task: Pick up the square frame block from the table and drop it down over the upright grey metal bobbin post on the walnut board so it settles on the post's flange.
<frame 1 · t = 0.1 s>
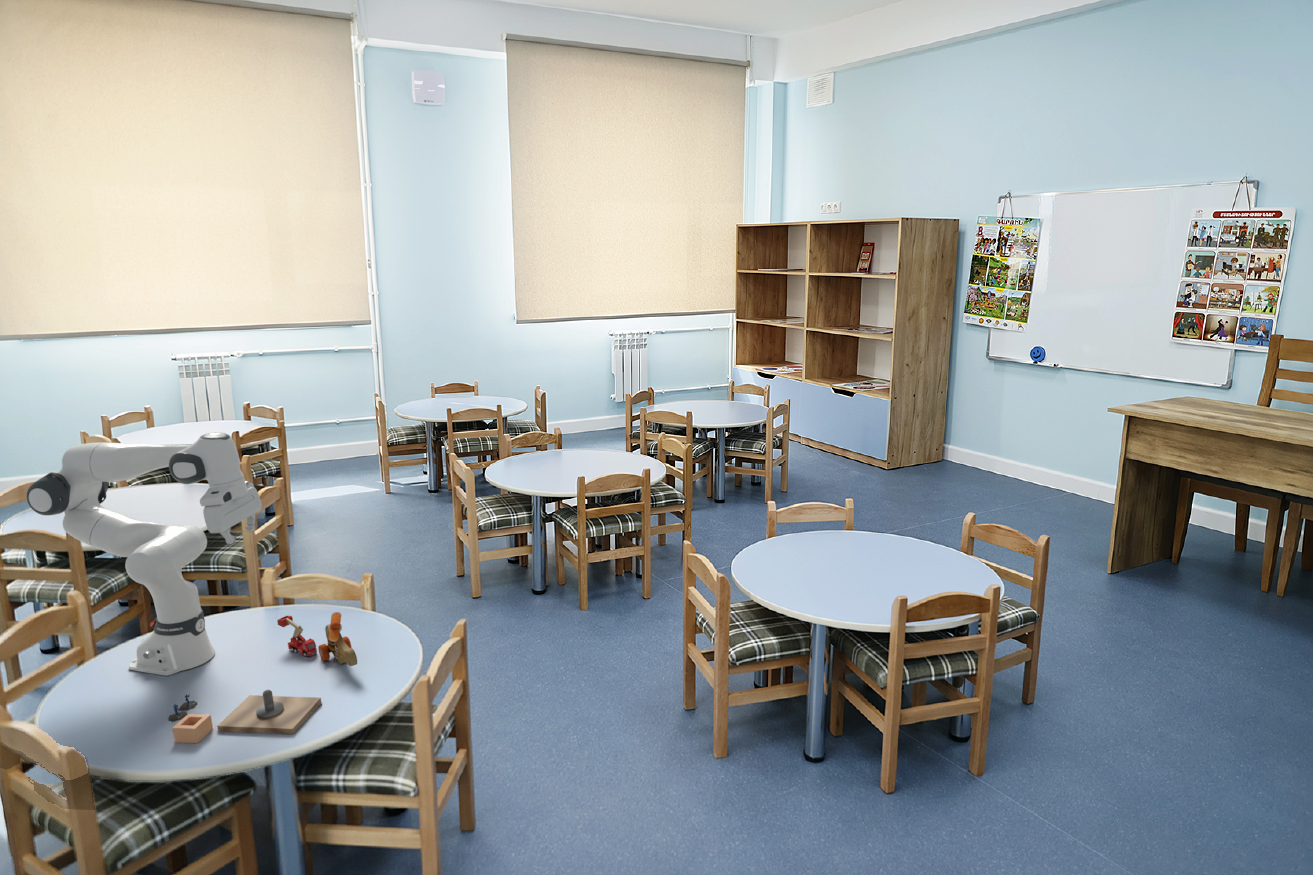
hand: (241, 536, 230), 39 cm above the table, tool pointing down, fingers open, 8 cm apart
square frame block: (194, 735, 204), on the table
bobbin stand: (271, 716, 211), on the table
toy helicopter: (342, 664, 236), on the table
toy fire truck: (299, 651, 245), on the table
figurines: (183, 712, 215), on the table
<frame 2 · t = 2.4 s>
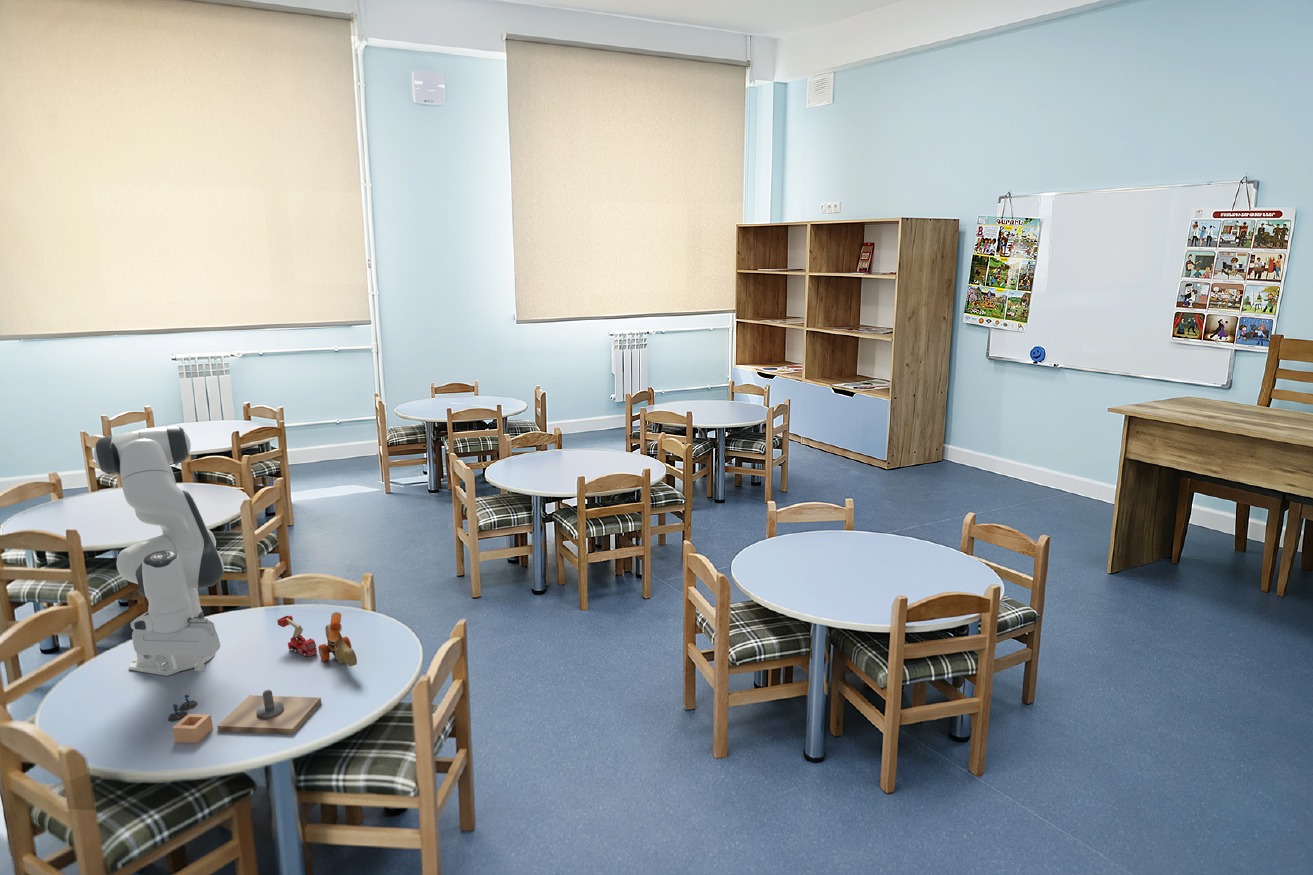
hand: (182, 669, 199), 18 cm above the table, tool pointing down, fingers open, 8 cm apart
nothing on the table moved.
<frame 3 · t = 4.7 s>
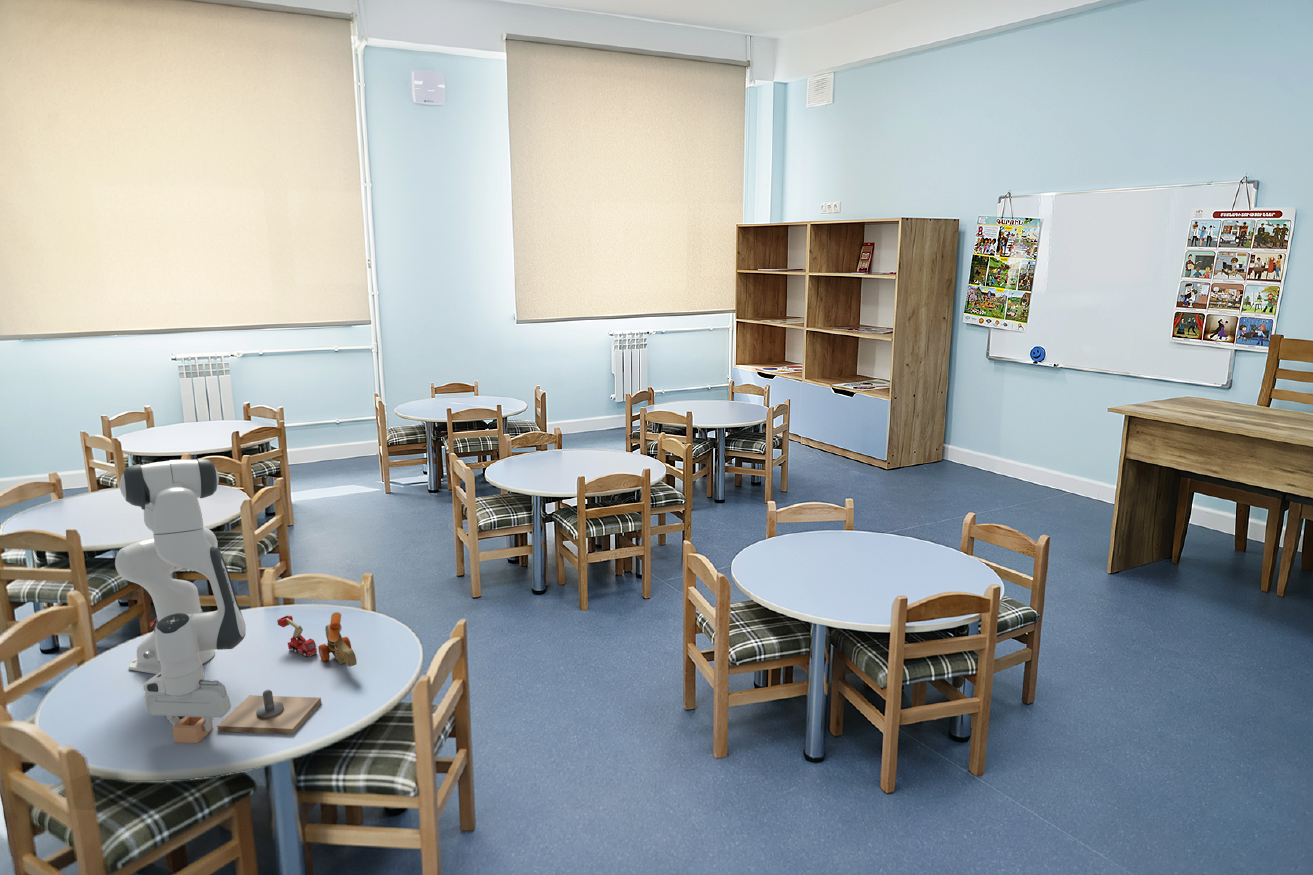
hand: (193, 729, 204), 2 cm above the table, tool pointing down, fingers closed on square frame block, 6 cm apart
square frame block: (194, 735, 204), on the table, touching gripper
everything else where it was.
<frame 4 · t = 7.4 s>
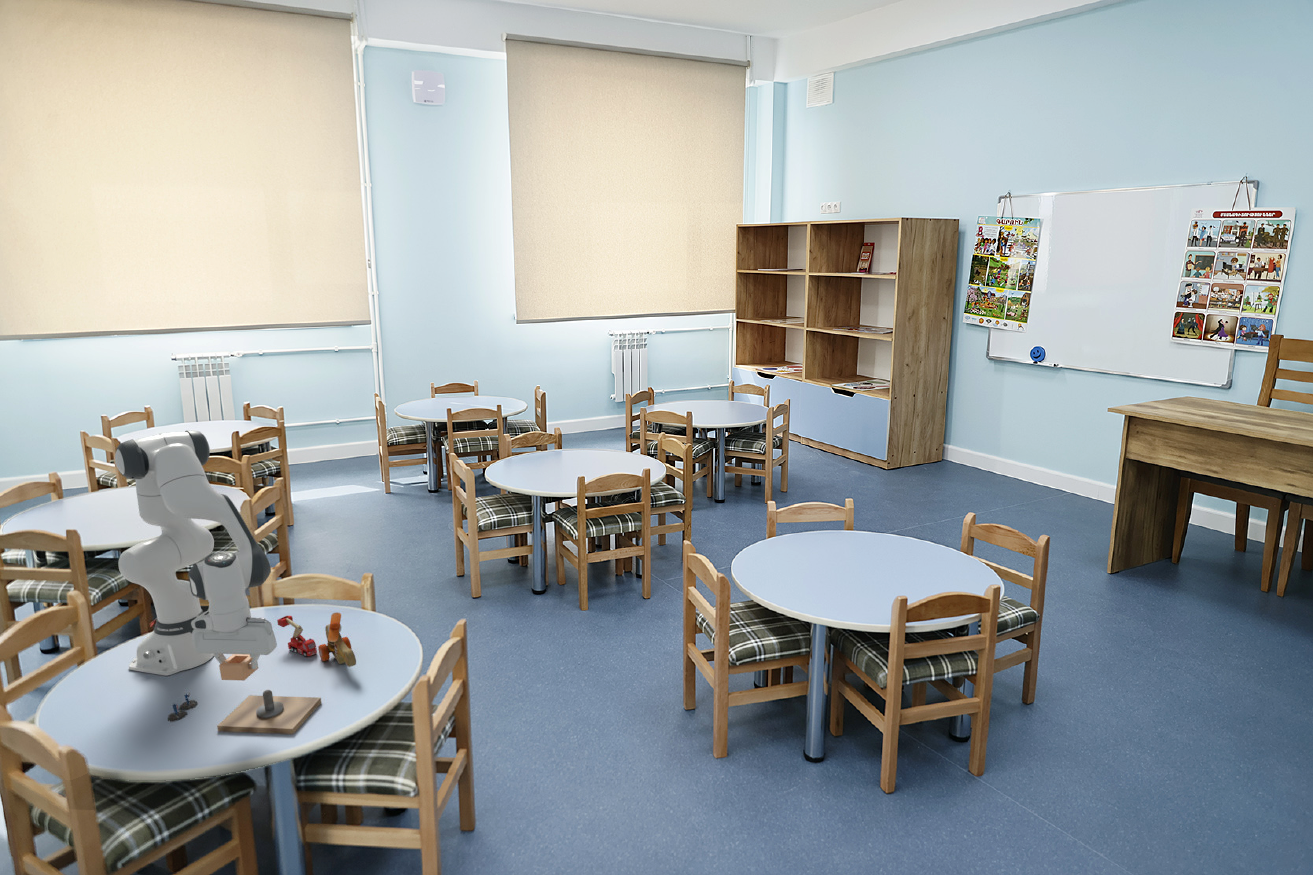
hand: (239, 668, 205), 15 cm above the table, tool pointing down, fingers closed on square frame block, 6 cm apart
square frame block: (240, 673, 205), point 14 cm above the table, touching gripper
everything else where it was.
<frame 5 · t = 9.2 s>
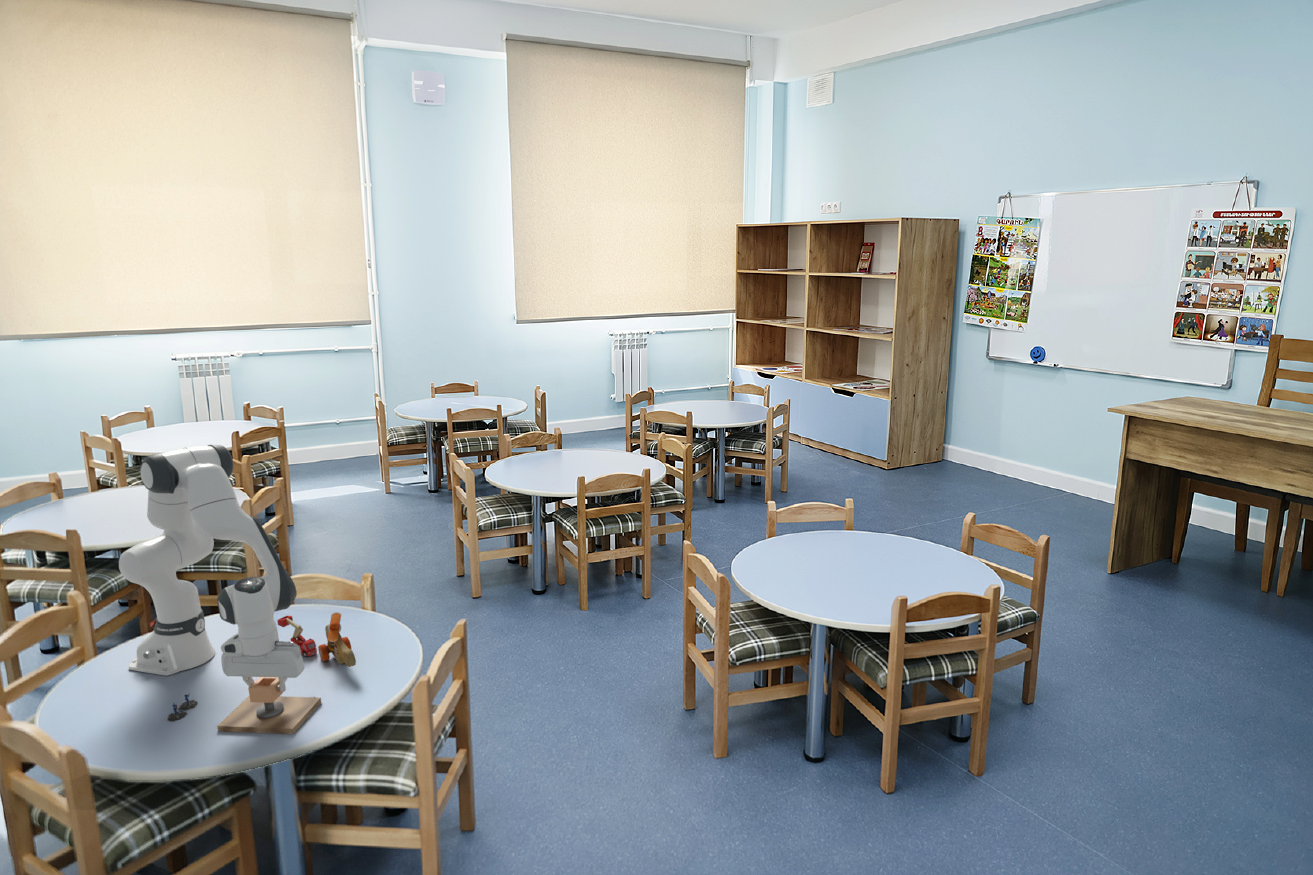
hand: (267, 690, 209), 8 cm above the table, tool pointing down, fingers closed on square frame block, 6 cm apart
square frame block: (268, 696, 209), point 6 cm above the table, touching gripper
everything else where it was.
when the fingers open (6 cm above the table, at t = 10.5 s): square frame block drops 2 cm, resting on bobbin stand.
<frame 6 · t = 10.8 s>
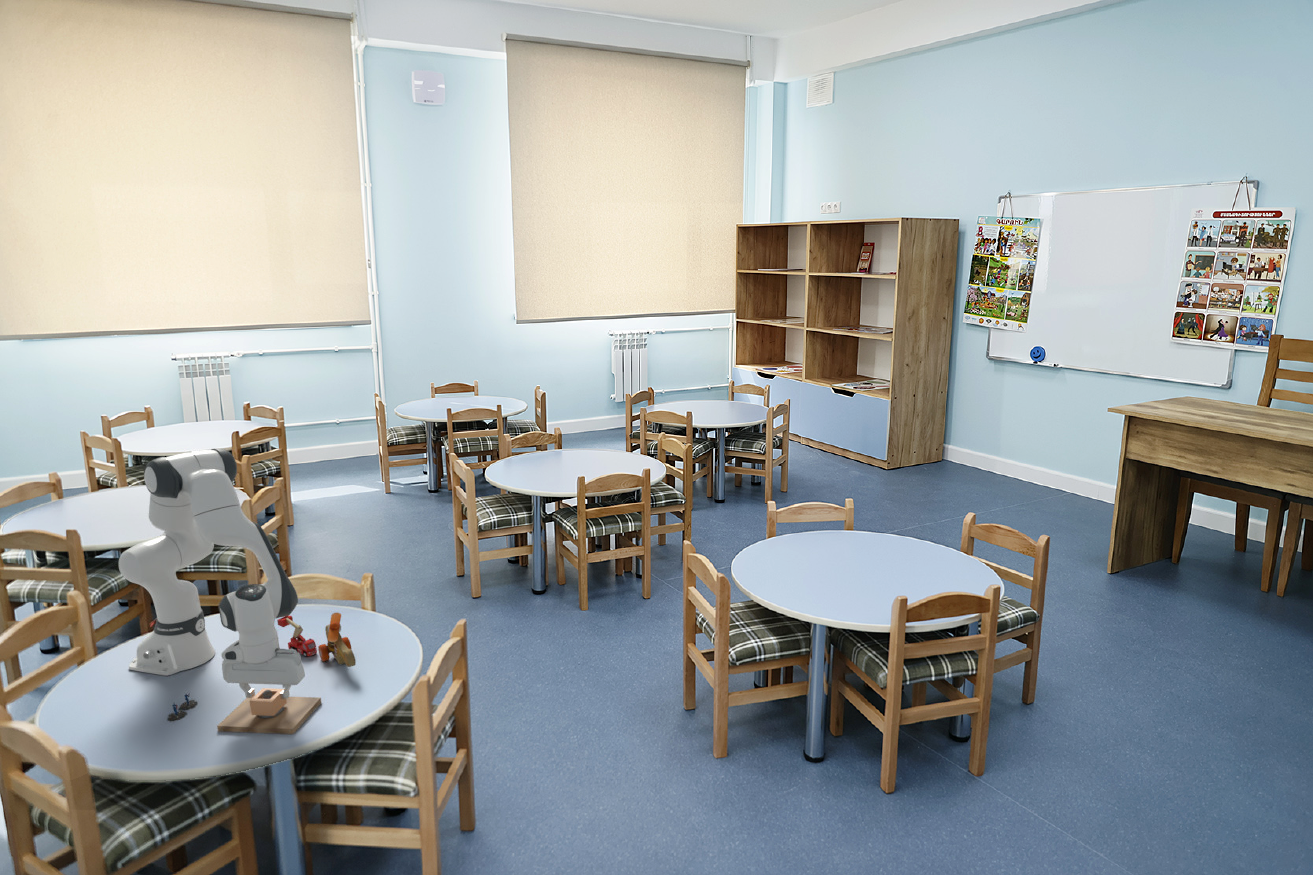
hand: (267, 697, 210), 6 cm above the table, tool pointing down, fingers open, 8 cm apart
square frame block: (269, 708, 210), point 2 cm above the table, touching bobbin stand
everything else where it was.
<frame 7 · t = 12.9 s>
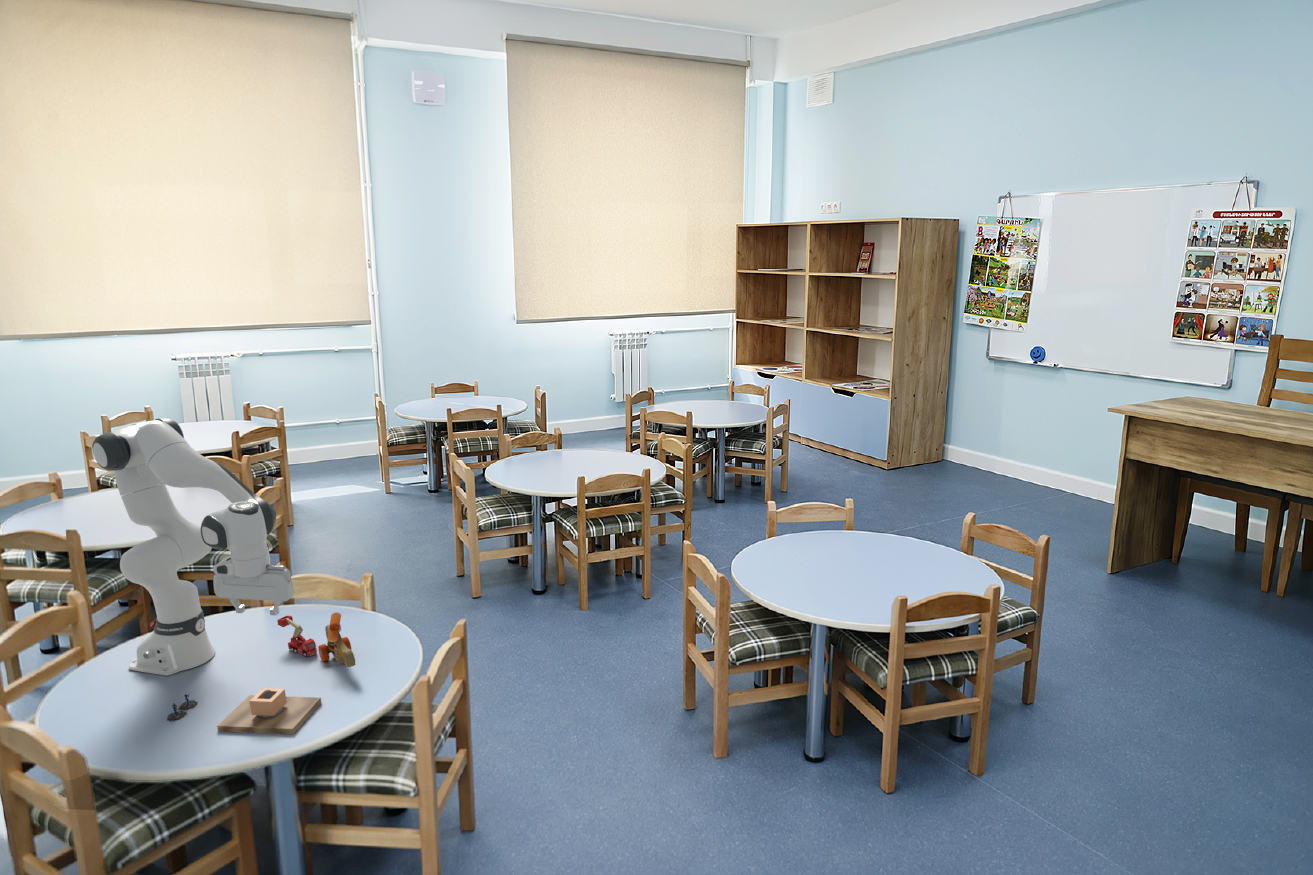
hand: (257, 613, 213), 25 cm above the table, tool pointing down, fingers open, 8 cm apart
nothing on the table moved.
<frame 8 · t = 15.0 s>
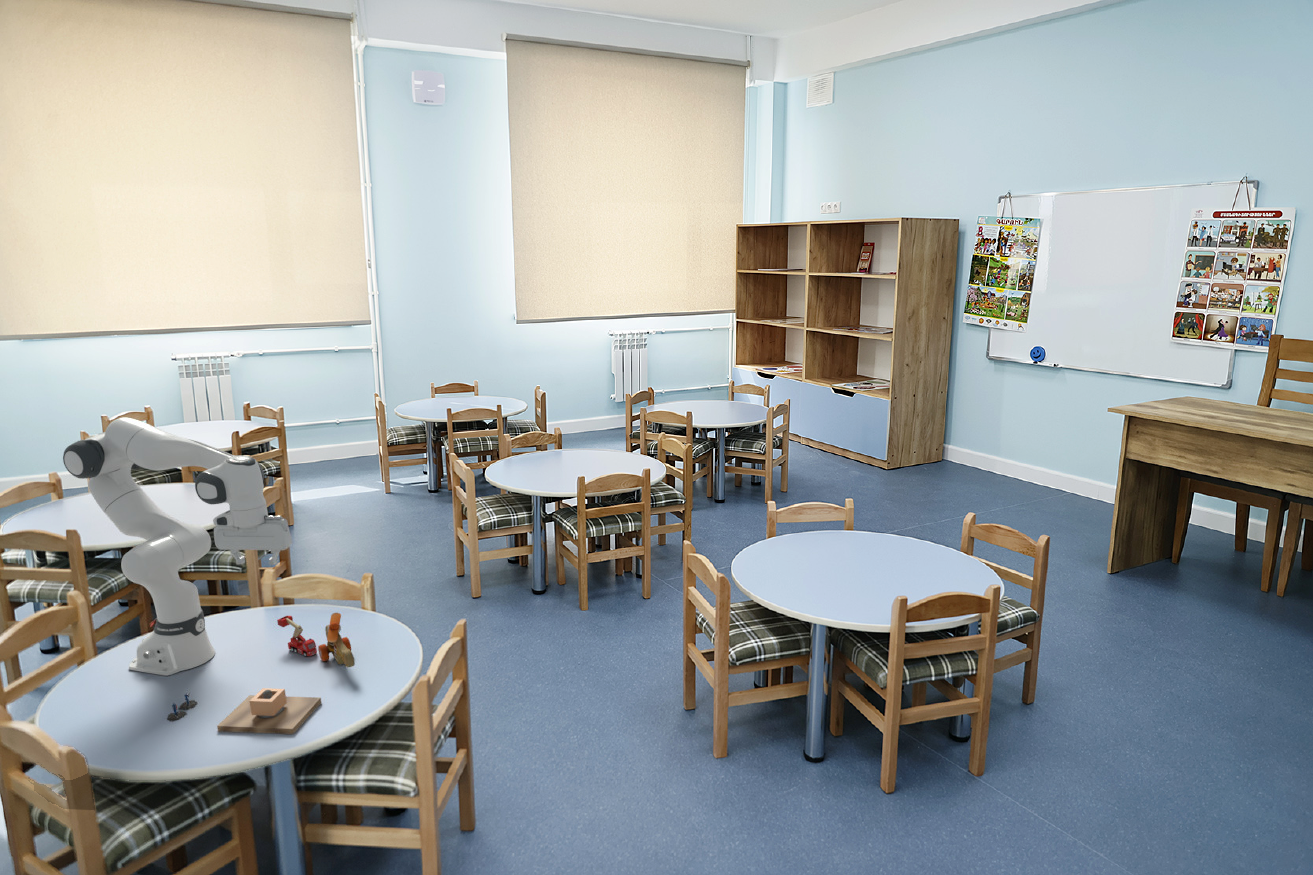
hand: (257, 563, 222), 34 cm above the table, tool pointing down, fingers open, 8 cm apart
nothing on the table moved.
at the end: square frame block 0.1 cm from the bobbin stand (horizontally); square frame block point 2.3 cm above the table; square frame block tilted 0° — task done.
